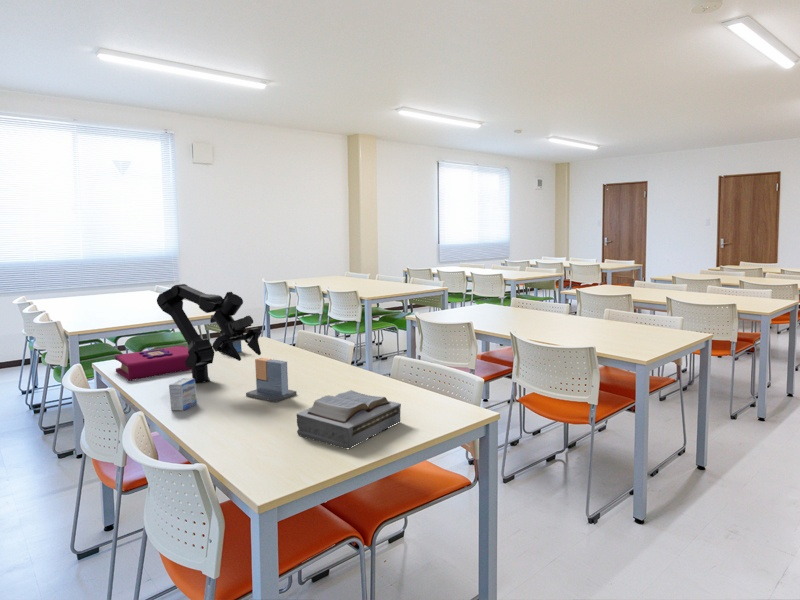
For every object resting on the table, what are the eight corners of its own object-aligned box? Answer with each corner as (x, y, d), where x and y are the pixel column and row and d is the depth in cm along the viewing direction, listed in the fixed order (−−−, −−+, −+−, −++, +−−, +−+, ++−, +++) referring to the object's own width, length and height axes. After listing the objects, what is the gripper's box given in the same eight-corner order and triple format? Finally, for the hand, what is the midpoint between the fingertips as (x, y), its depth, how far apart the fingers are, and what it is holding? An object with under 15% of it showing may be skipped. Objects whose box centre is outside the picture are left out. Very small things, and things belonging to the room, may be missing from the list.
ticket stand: (246, 396, 187) (244, 361, 186) (267, 388, 196) (265, 355, 194) (276, 402, 180) (274, 366, 178) (296, 394, 188) (295, 359, 187)
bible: (287, 431, 155) (286, 398, 154) (360, 409, 174) (359, 379, 172) (337, 455, 138) (336, 418, 137) (412, 427, 157) (411, 394, 156)
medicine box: (183, 411, 172) (181, 384, 171) (170, 410, 173) (168, 384, 172) (197, 403, 180) (195, 378, 179) (184, 402, 181) (183, 377, 180)
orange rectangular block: (256, 379, 189) (255, 359, 188) (262, 377, 191) (261, 357, 190) (266, 381, 186) (265, 361, 185) (272, 379, 189) (271, 359, 188)
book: (202, 369, 226) (200, 351, 225) (129, 382, 208) (127, 362, 207) (184, 360, 242) (182, 343, 241) (115, 371, 224) (113, 353, 223)
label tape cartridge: (238, 350, 259) (237, 324, 258) (241, 351, 256) (240, 325, 255) (220, 353, 254) (218, 327, 252) (223, 354, 251) (222, 328, 249)
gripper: (215, 312, 184) (240, 348, 180) (256, 305, 200) (280, 338, 195) (201, 333, 189) (225, 368, 185) (242, 325, 205) (265, 357, 200)
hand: (250, 357), depth 191 cm, fingers open, 9 cm apart
